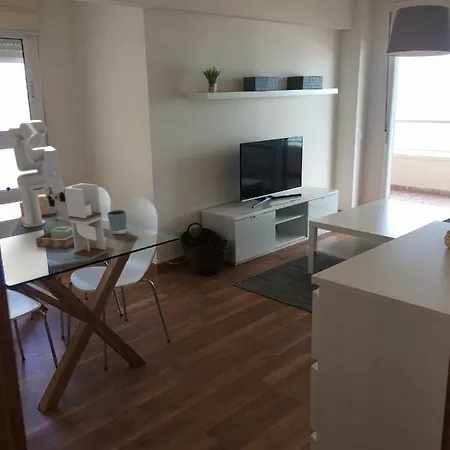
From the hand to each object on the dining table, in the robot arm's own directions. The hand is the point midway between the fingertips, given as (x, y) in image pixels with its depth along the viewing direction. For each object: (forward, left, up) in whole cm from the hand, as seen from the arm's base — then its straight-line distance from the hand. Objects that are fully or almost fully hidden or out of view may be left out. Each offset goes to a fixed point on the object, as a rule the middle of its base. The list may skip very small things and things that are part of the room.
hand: (57, 204), depth 275 cm
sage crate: (+1, -1, -20) cm, 20 cm away
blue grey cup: (+25, +18, -21) cm, 37 cm away
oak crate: (+1, -1, -21) cm, 21 cm away
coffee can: (-62, +66, -21) cm, 93 cm away
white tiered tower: (+27, -18, -21) cm, 39 cm away
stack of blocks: (-50, +49, -21) cm, 73 cm away
